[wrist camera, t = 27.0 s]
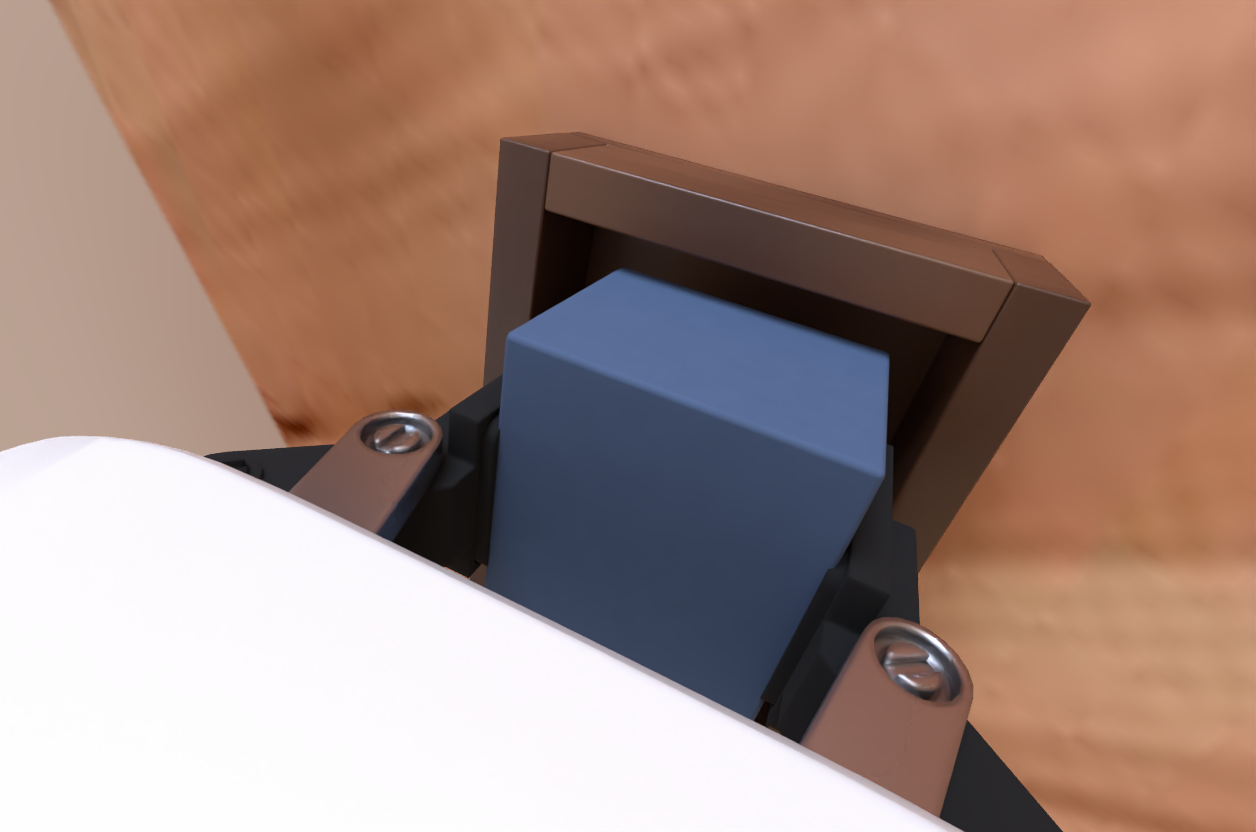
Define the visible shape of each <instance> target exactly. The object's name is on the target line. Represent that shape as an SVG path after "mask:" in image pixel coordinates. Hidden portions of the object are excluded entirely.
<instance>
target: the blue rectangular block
mask: <svg viewBox="0 0 1256 832" xmlns="http://www.w3.org/2000/svg"><path fill="white" fill-rule="evenodd" d="M888 385H889V354H888V353H887V352H885V351H882V350H879V349H876V348H872V347H869V346H866V345H863V344H860V343H857V342H854V341H851V340H848V339H845V338H841V337H838V336H835V335H832V334H829V333H826V332H823V331H820V330H817V329H814V328H811V327H807V326H804V325H801V324H798V323H795V322H792V321H789V320H786V319H783V318H780V317H776V316H773V315H770V314H767V313H764V312H761V311H758V310H755V309H752V308H749V307H746V306H742V305H739V304H736V303H733V302H730V301H727V300H724V299H721V298H718V297H715V296H712V295H708V294H705V293H702V292H699V291H696V290H693V289H690V288H687V287H684V286H681V285H677V284H674V283H671V282H668V281H665V280H662V279H659V278H656V277H653V276H650V275H647V274H643V273H640V272H637V271H634V270H631V269H628V268H625V267H623V268H619V269H617V270H616V271H614V272H612V273H611V274H609V275H607V276H605V277H604V278H602V279H600V280H599V281H597V282H595V283H593V284H592V285H590V286H588V287H587V288H585V289H583V290H581V291H580V292H578V293H576V294H575V295H573V296H571V297H569V298H568V299H566V300H564V301H562V302H561V303H559V304H557V305H556V306H554V307H552V308H550V309H549V310H547V311H545V312H544V313H542V314H540V315H538V316H537V317H535V318H533V319H532V320H530V321H528V322H526V323H525V324H523V325H521V326H520V327H518V328H516V329H514V330H513V331H511V332H509V334H508V335H507V338H506V345H505V356H504V368H503V379H502V391H501V403H500V414H499V426H498V429H499V430H500V434H499V446H498V457H497V468H496V480H495V491H494V502H493V514H492V525H491V536H490V548H489V559H488V566H486V576H485V588H487V589H489V590H491V591H493V592H495V593H497V594H499V595H501V596H503V597H505V598H507V599H509V600H511V601H513V602H515V603H517V604H519V605H521V606H523V607H525V608H527V609H529V610H531V611H533V612H535V613H537V614H540V615H542V616H544V617H546V618H548V619H550V620H552V621H554V622H556V623H558V624H560V625H562V626H564V627H566V628H568V629H570V630H572V631H574V632H576V633H578V634H580V635H582V636H584V637H586V638H588V639H590V640H592V641H594V642H596V643H598V644H600V645H602V646H604V647H606V648H608V649H610V650H612V651H614V652H616V653H618V654H620V655H622V656H624V657H626V658H628V659H630V660H632V661H634V662H636V663H638V664H640V665H642V666H644V667H646V668H648V669H650V670H652V671H654V672H656V673H658V674H660V675H662V676H664V677H666V678H668V679H670V680H672V681H674V682H676V683H678V684H680V685H682V686H684V687H686V688H688V689H690V690H692V691H694V692H696V693H698V694H700V695H702V696H704V697H706V698H708V699H710V700H712V701H714V702H716V703H718V704H720V705H722V706H724V707H726V708H728V709H730V710H732V711H734V712H736V713H738V714H740V715H742V716H744V717H746V718H748V719H750V720H752V721H754V720H755V718H756V716H757V714H758V713H759V711H760V709H761V707H762V705H763V703H764V700H762V699H760V697H761V695H762V693H763V691H764V689H765V687H766V686H767V684H768V682H769V680H770V678H771V676H772V674H773V672H774V670H775V668H776V667H777V665H778V663H779V661H780V659H781V657H782V655H783V653H784V651H785V650H786V648H787V646H788V644H789V642H790V640H791V638H792V636H793V634H794V633H795V631H796V629H797V627H798V625H799V623H800V621H801V619H802V617H803V615H804V614H805V612H806V610H807V608H808V606H809V604H810V602H811V600H812V598H813V597H814V595H815V593H816V591H817V589H818V587H819V585H820V583H821V581H822V580H823V578H824V576H825V574H826V572H827V570H828V569H835V568H836V566H837V565H838V564H839V562H840V560H841V558H842V557H843V555H844V553H845V551H846V549H847V547H848V545H849V544H850V542H851V540H852V538H853V536H854V534H855V532H856V531H857V529H858V527H859V525H860V523H861V521H862V519H863V518H864V516H865V514H866V512H867V510H868V508H869V506H870V505H871V503H872V501H873V499H874V497H875V495H876V493H877V492H878V490H879V488H880V486H881V484H882V482H883V480H884V479H885V466H886V439H887V412H888Z"/></svg>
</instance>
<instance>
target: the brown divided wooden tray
mask: <svg viewBox="0 0 1256 832" xmlns="http://www.w3.org/2000/svg"><path fill="white" fill-rule="evenodd" d="M623 267H625V268H628V269H631V270H634V271H637V272H640V273H643V274H647V275H650V276H653V277H656V278H659V279H662V280H665V281H668V282H671V283H674V284H677V285H681V286H684V287H687V288H690V289H693V290H696V291H699V292H702V293H705V294H708V295H712V296H715V297H718V298H721V299H724V300H727V301H730V302H733V303H736V304H739V305H742V306H746V307H749V308H752V309H755V310H758V311H761V312H764V313H767V314H770V315H773V316H776V317H780V318H783V319H786V320H789V321H792V322H795V323H798V324H801V325H804V326H807V327H811V328H814V329H817V330H820V331H823V332H826V333H829V334H832V335H835V336H838V337H841V338H845V339H848V340H851V341H854V342H857V343H860V344H863V345H866V346H869V347H872V348H876V349H879V350H882V351H885V352H887V353H888V354H889V385H888V412H887V439H886V444H889V445H891V446H893V448H894V450H893V504H892V520H895V521H897V522H900V523H902V524H905V525H907V526H910V527H913V528H914V529H915V532H916V543H917V569H918V572H919V571H920V569H921V568H922V566H923V565H924V563H925V562H926V560H927V558H928V557H929V555H930V554H931V552H932V551H933V549H934V548H935V546H936V545H937V543H938V541H939V540H940V538H941V537H942V535H943V534H944V532H945V531H946V529H947V527H948V526H949V524H950V523H951V521H952V520H953V518H954V517H955V515H956V514H957V512H958V510H959V509H960V507H961V506H962V504H963V503H964V501H965V500H966V498H967V497H968V495H969V493H970V492H971V490H972V489H973V487H974V486H975V484H976V483H977V481H978V479H979V478H980V476H981V475H982V473H983V472H984V470H985V469H986V467H987V466H988V464H989V462H990V461H991V459H992V458H993V456H994V455H995V453H996V452H997V450H998V449H999V447H1000V445H1001V444H1002V442H1003V441H1004V439H1005V438H1006V436H1007V435H1008V433H1009V431H1010V430H1011V428H1012V427H1013V425H1014V424H1015V422H1016V421H1017V419H1018V418H1019V416H1020V414H1021V413H1022V411H1023V410H1024V408H1025V407H1026V405H1027V404H1028V402H1029V400H1030V399H1031V397H1032V396H1033V394H1034V393H1035V391H1036V390H1037V388H1038V387H1039V385H1040V383H1041V382H1042V380H1043V379H1044V377H1045V376H1046V374H1047V373H1048V371H1049V370H1050V368H1051V366H1052V365H1053V363H1054V362H1055V360H1056V359H1057V357H1058V356H1059V354H1060V352H1061V351H1062V349H1063V348H1064V346H1065V345H1066V343H1067V342H1068V340H1069V339H1070V337H1071V335H1072V334H1073V332H1074V331H1075V329H1076V328H1077V326H1078V325H1079V323H1080V322H1081V320H1082V318H1083V317H1084V315H1085V314H1086V312H1087V311H1088V309H1089V308H1090V306H1091V303H1090V302H1089V301H1088V300H1087V299H1086V298H1085V297H1084V296H1083V295H1082V294H1081V293H1080V292H1079V291H1078V290H1077V289H1076V288H1075V287H1074V286H1073V285H1072V284H1071V283H1070V282H1069V281H1068V280H1067V279H1066V278H1065V277H1064V276H1063V275H1062V274H1061V273H1060V272H1059V271H1058V270H1057V269H1056V268H1055V267H1054V266H1053V265H1052V264H1051V263H1049V262H1048V261H1047V260H1046V259H1045V258H1044V257H1043V256H1040V255H1036V254H1032V253H1029V252H1025V251H1021V250H1017V249H1014V248H1010V247H1006V246H1003V245H999V244H995V243H991V242H988V241H984V240H980V239H976V238H973V237H969V236H965V235H962V234H958V233H954V232H950V231H947V230H943V229H939V228H935V227H932V226H928V225H924V224H920V223H917V222H913V221H909V220H906V219H902V218H898V217H894V216H891V215H887V214H883V213H879V212H876V211H872V210H868V209H864V208H861V207H857V206H853V205H850V204H846V203H842V202H838V201H835V200H831V199H827V198H823V197H820V196H816V195H812V194H809V193H805V192H801V191H797V190H794V189H790V188H786V187H782V186H779V185H775V184H771V183H767V182H764V181H760V180H756V179H753V178H749V177H745V176H741V175H738V174H734V173H730V172H726V171H723V170H719V169H715V168H711V167H708V166H704V165H700V164H697V163H693V162H689V161H685V160H682V159H678V158H674V157H670V156H667V155H663V154H659V153H655V152H652V151H648V150H644V149H641V148H637V147H633V146H629V145H626V144H622V143H618V142H614V141H611V140H607V139H603V138H600V137H596V136H592V135H588V134H585V133H581V132H575V133H558V134H545V135H532V136H519V137H506V138H501V140H500V152H499V167H498V181H497V196H496V210H495V225H494V239H493V254H492V268H491V282H490V297H489V311H488V326H487V340H486V355H485V369H484V384H483V387H484V386H485V385H487V384H488V383H490V382H491V381H493V380H494V379H496V378H497V377H499V376H500V375H502V374H503V368H504V356H505V345H506V338H507V335H508V334H509V332H511V331H513V330H514V329H516V328H518V327H520V326H521V325H523V324H525V323H526V322H528V321H530V320H532V319H533V318H535V317H537V316H538V315H540V314H542V313H544V312H545V311H547V310H549V309H550V308H552V307H554V306H556V305H557V304H559V303H561V302H562V301H564V300H566V299H568V298H569V297H571V296H573V295H575V294H576V293H578V292H580V291H581V290H583V289H585V288H587V287H588V286H590V285H592V284H593V283H595V282H597V281H599V280H600V279H602V278H604V277H605V276H607V275H609V274H611V273H612V272H614V271H616V270H617V269H619V268H623ZM485 576H486V566H485V565H483V564H481V565H480V566H479V568H478V569H477V570H476V571H475V572H474V573H473V574H472V575H471V576H470V580H471V581H473V582H475V583H477V584H479V585H481V586H483V587H485ZM769 708H770V703H769V702H767V701H764V703H763V705H762V707H761V709H760V711H759V713H758V714H757V716H756V718H755V720H754V722H756V723H758V724H760V725H762V726H764V727H766V728H768V729H770V730H772V731H774V732H776V733H778V734H780V735H781V733H780V732H779V731H778V730H776V729H774V728H772V727H770V726H768V725H766V721H767V717H768V712H769Z"/></svg>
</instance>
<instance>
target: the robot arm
mask: <svg viewBox="0 0 1256 832" xmlns="http://www.w3.org/2000/svg"><path fill="white" fill-rule="evenodd" d="M502 379H503V374H502V375H500V376H499V377H497V378H496V379H494V380H493V381H491V382H490V383H488V384H487V385H485V386H484V387H482V388H481V389H479V390H478V391H477V392H475V393H474V394H472V395H471V396H469V397H468V398H466V399H465V400H463V401H462V402H460V403H459V404H457V405H456V406H454V407H453V408H451V409H450V410H449V411H448V412H447V413H445V414H444V415H442V416H441V417H439V418H438V419H436V420H434V419H432V418H431V417H429V416H428V415H425V414H422V413H419V412H416V411H408V410H387V411H382V412H377V413H374V414H371V415H369V416H366V417H364V418H362V419H361V420H360V421H358V422H357V423H356V424H354V425H353V426H352V427H351V428H350V430H349V431H348V432H347V433H346V434H345V435H344V436H343V437H342V438H341V439H340V440H339V441H338V442H337V443H336V444H333V445H318V446H304V447H290V448H275V449H262V450H247V451H232V452H223V453H216V454H210V455H207V456H200V455H197V454H194V453H191V452H188V451H185V450H181V449H176V448H172V447H168V446H164V445H159V444H155V443H151V442H145V441H137V440H130V439H122V438H114V437H102V436H65V437H56V438H49V439H44V440H40V441H36V442H32V443H28V444H24V445H21V446H17V447H14V448H11V449H8V450H4V451H1V452H0V832H1063V831H1062V830H1061V829H1060V828H1059V827H1058V825H1057V824H1056V823H1055V822H1054V821H1053V820H1052V818H1051V817H1050V816H1049V815H1048V814H1047V813H1046V811H1045V810H1044V809H1043V808H1042V807H1041V806H1040V804H1039V803H1038V802H1037V801H1036V800H1035V799H1034V797H1033V796H1032V795H1031V794H1030V793H1029V792H1028V790H1027V789H1026V788H1025V787H1024V786H1023V784H1022V783H1021V782H1020V781H1019V780H1018V779H1017V777H1016V776H1015V775H1014V774H1013V773H1012V772H1011V770H1010V769H1009V768H1008V767H1007V766H1006V765H1005V763H1004V762H1003V761H1002V760H1001V759H1000V758H999V756H998V755H997V754H996V753H995V752H994V751H993V749H992V748H991V747H990V746H989V745H988V744H987V742H986V741H985V740H984V739H983V738H982V736H981V735H980V734H979V733H978V732H977V731H976V729H975V728H974V727H973V726H972V725H971V724H970V722H969V721H968V720H967V718H968V714H969V711H970V707H971V704H972V700H973V683H972V680H971V677H970V674H969V671H968V669H967V668H966V666H965V665H964V663H963V662H962V660H961V659H960V657H959V656H958V654H957V653H956V652H955V651H954V650H953V649H952V648H951V647H950V646H949V645H948V644H947V643H946V642H945V641H944V640H942V639H941V638H940V637H938V636H937V635H936V634H934V633H933V632H932V631H930V630H928V629H926V628H924V627H922V626H921V625H920V621H919V595H918V569H917V543H916V532H915V529H914V528H913V527H910V526H907V525H905V524H902V523H900V522H897V521H895V520H892V504H893V450H894V448H893V446H891V445H889V444H886V466H885V479H884V480H883V482H882V484H881V486H880V488H879V490H878V492H877V493H876V495H875V497H874V499H873V501H872V503H871V505H870V506H869V508H868V510H867V512H866V514H865V516H864V518H863V519H862V521H861V523H860V525H859V527H858V529H857V531H856V532H855V534H854V536H853V538H852V540H851V542H850V544H849V545H848V547H847V549H846V551H845V553H844V555H843V557H842V558H841V560H840V562H839V564H838V565H837V566H836V568H835V569H828V570H827V572H826V574H825V576H824V578H823V580H822V581H821V583H820V585H819V587H818V589H817V591H816V593H815V595H814V597H813V598H812V600H811V602H810V604H809V606H808V608H807V610H806V612H805V614H804V615H803V617H802V619H801V621H800V623H799V625H798V627H797V629H796V631H795V633H794V634H793V636H792V638H791V640H790V642H789V644H788V646H787V648H786V650H785V651H784V653H783V655H782V657H781V659H780V661H779V663H778V665H777V667H776V668H775V670H774V672H773V674H772V676H771V678H770V680H769V682H768V684H767V686H766V687H765V689H764V691H763V693H762V695H761V697H760V699H762V700H764V701H767V702H769V703H770V708H769V712H768V717H767V721H766V725H768V726H770V727H772V728H774V729H776V730H778V731H779V732H780V733H781V735H780V734H778V733H776V732H774V731H772V730H770V729H768V728H766V727H764V726H762V725H760V724H758V723H756V722H754V721H752V720H750V719H748V718H746V717H744V716H742V715H740V714H738V713H736V712H734V711H732V710H730V709H728V708H726V707H724V706H722V705H720V704H718V703H716V702H714V701H712V700H710V699H708V698H706V697H704V696H702V695H700V694H698V693H696V692H694V691H692V690H690V689H688V688H686V687H684V686H682V685H680V684H678V683H676V682H674V681H672V680H670V679H668V678H666V677H664V676H662V675H660V674H658V673H656V672H654V671H652V670H650V669H648V668H646V667H644V666H642V665H640V664H638V663H636V662H634V661H632V660H630V659H628V658H626V657H624V656H622V655H620V654H618V653H616V652H614V651H612V650H610V649H608V648H606V647H604V646H602V645H600V644H598V643H596V642H594V641H592V640H590V639H588V638H586V637H584V636H582V635H580V634H578V633H576V632H574V631H572V630H570V629H568V628H566V627H564V626H562V625H560V624H558V623H556V622H554V621H552V620H550V619H548V618H546V617H544V616H542V615H540V614H537V613H535V612H533V611H531V610H529V609H527V608H525V607H523V606H521V605H519V604H517V603H515V602H513V601H511V600H509V599H507V598H505V597H503V596H501V595H499V594H497V593H495V592H493V591H491V590H489V589H487V588H485V587H483V586H481V585H479V584H477V583H475V582H473V581H471V580H469V579H466V578H464V577H462V576H460V575H458V574H456V573H454V572H452V571H450V570H448V569H446V568H444V567H447V568H449V569H451V570H453V571H456V572H458V573H460V574H462V575H464V576H466V577H468V578H469V577H470V576H471V575H472V574H473V573H474V572H475V571H476V570H477V569H478V568H479V566H480V565H481V564H483V565H485V566H488V559H489V548H490V536H491V525H492V514H493V502H494V491H495V480H496V468H497V457H498V446H499V434H500V430H499V429H498V426H499V414H500V403H501V391H502Z"/></svg>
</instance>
